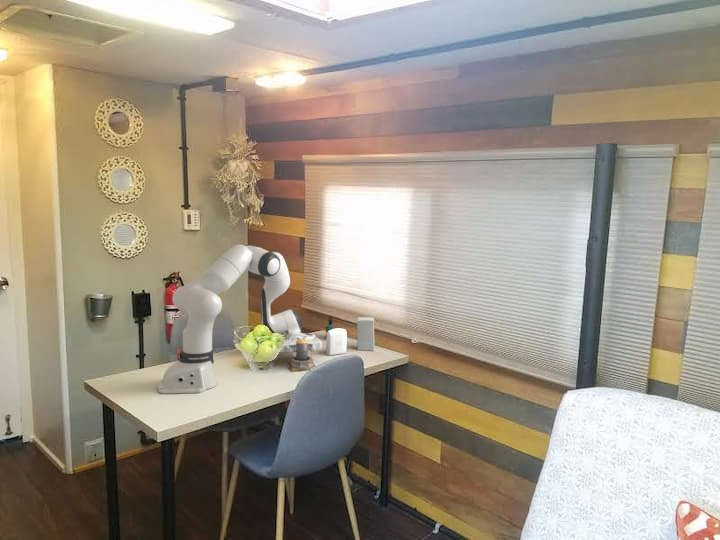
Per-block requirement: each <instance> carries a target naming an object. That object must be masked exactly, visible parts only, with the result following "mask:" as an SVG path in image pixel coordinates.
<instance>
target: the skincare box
mask: <svg viewBox="0 0 720 540" xmlns="http://www.w3.org/2000/svg"><path fill="white" fill-rule="evenodd" d="M356 337H357V339H356V342H357V343H356V345H357V347H356V348H357V351H374V350H375V345H376V344H375V343H376V342H375V317H371V316H370V317H369V316H368V317H366V316H363V317H362V316H359V317H357V319H356Z"/></svg>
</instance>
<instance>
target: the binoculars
mask: <svg viewBox="0 0 720 540" xmlns="http://www.w3.org/2000/svg"><path fill="white" fill-rule="evenodd" d="M327 320H328V321H327V324H326V326H325V327H324V329H326V330H325V334H326V335H325V340H326V339H327V332H328V331H330V330H332V329H335V328H334V324H333V321H334V320H333V318H331V317H329V318H328V319H327Z"/></svg>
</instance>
